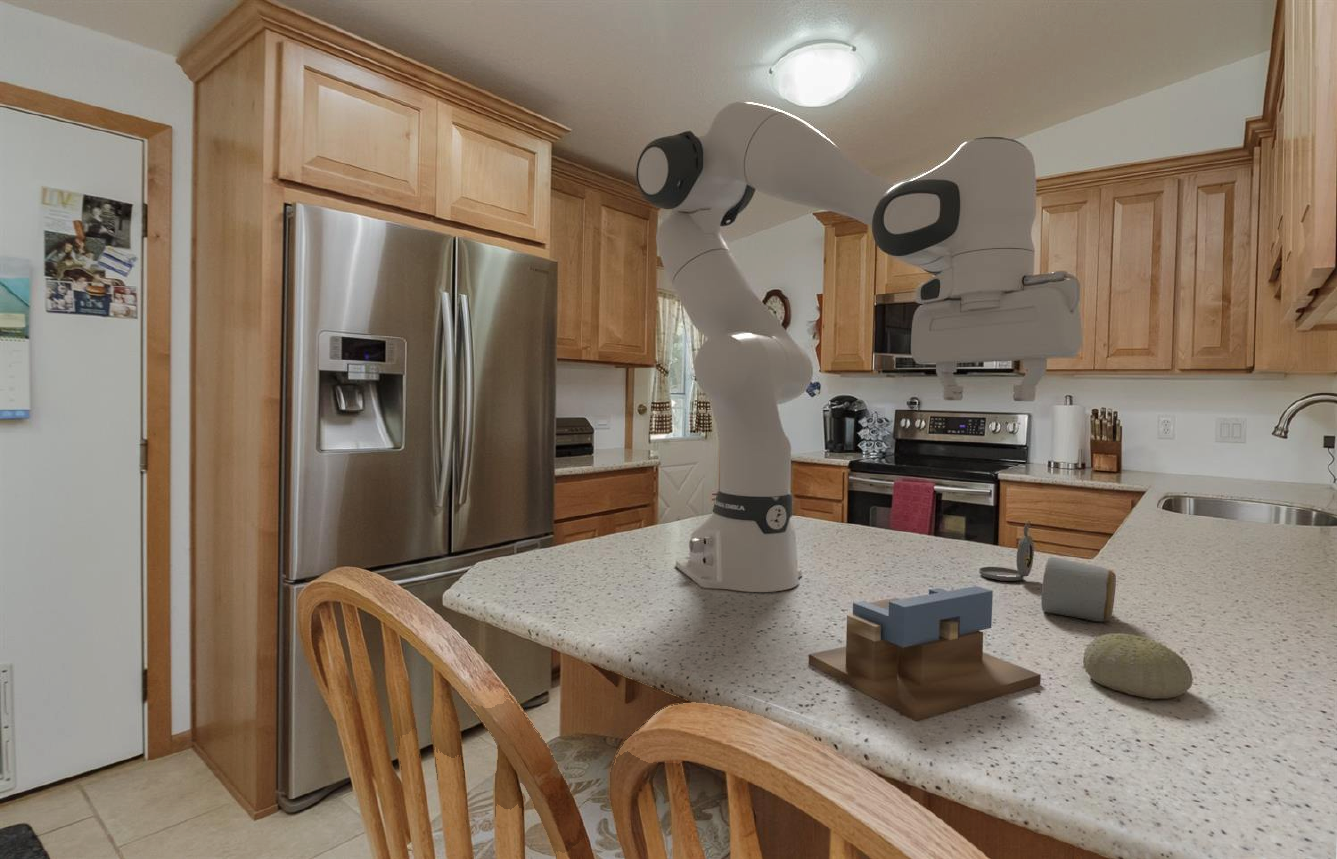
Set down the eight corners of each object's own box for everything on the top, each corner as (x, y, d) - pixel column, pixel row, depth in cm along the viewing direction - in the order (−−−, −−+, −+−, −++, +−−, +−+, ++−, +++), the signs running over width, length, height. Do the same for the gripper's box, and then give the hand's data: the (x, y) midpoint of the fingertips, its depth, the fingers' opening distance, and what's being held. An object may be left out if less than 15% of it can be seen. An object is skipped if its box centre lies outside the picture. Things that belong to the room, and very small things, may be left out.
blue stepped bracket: (852, 625, 73) (853, 588, 72) (937, 609, 79) (938, 575, 79) (903, 647, 66) (904, 607, 66) (991, 627, 73) (992, 590, 72)
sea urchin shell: (1161, 695, 64) (1105, 617, 69) (1102, 727, 69) (1053, 653, 74) (1222, 681, 67) (1164, 608, 72) (1161, 712, 73) (1111, 642, 78)
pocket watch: (973, 571, 117) (975, 513, 116) (1026, 573, 115) (1028, 515, 115) (989, 584, 109) (991, 522, 108) (1045, 587, 107) (1048, 524, 107)
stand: (808, 663, 75) (809, 603, 75) (924, 637, 84) (925, 584, 83) (916, 720, 62) (918, 649, 62) (1040, 684, 70) (1042, 620, 70)
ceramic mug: (1111, 630, 88) (1114, 570, 87) (1039, 617, 92) (1042, 560, 92) (1115, 611, 96) (1118, 557, 96) (1049, 600, 101) (1052, 548, 101)
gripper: (1098, 270, 72) (1092, 402, 72) (938, 295, 90) (935, 400, 90) (1061, 264, 69) (1056, 401, 69) (904, 291, 87) (901, 399, 87)
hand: (986, 400), depth 80 cm, fingers open, 8 cm apart
